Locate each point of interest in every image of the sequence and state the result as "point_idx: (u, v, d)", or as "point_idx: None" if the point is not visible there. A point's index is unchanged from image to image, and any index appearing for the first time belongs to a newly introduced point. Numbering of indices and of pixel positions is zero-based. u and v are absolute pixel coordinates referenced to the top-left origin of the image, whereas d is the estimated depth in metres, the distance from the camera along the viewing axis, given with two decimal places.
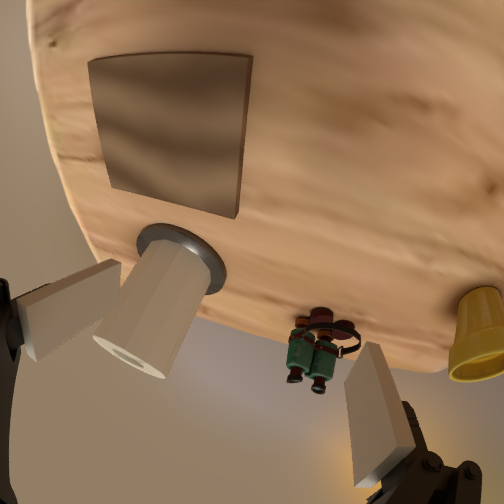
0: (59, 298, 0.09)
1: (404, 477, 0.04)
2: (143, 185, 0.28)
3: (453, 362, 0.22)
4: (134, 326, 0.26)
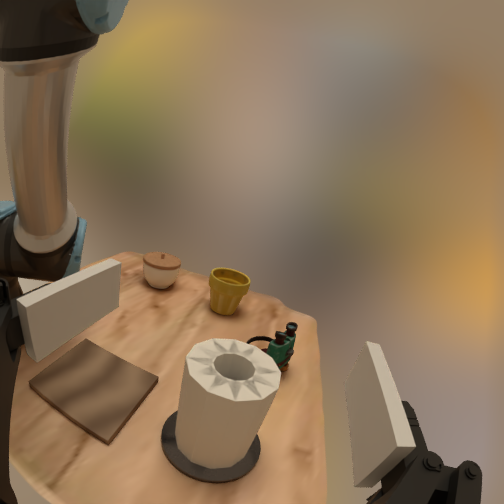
0: (59, 298, 0.09)
1: (404, 477, 0.04)
2: (117, 412, 0.30)
3: (229, 287, 0.65)
4: None
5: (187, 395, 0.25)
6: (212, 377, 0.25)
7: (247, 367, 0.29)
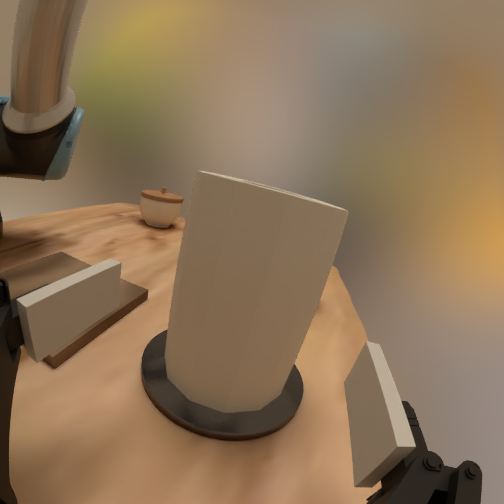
0: (59, 298, 0.09)
1: (404, 477, 0.04)
2: None
3: None
4: None
5: (193, 224, 0.15)
6: (241, 181, 0.15)
7: None
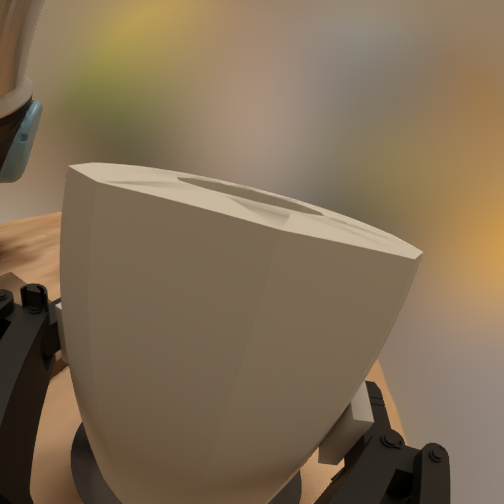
0: None
1: (362, 455, 0.05)
2: None
3: None
4: None
5: (61, 288, 0.06)
6: (156, 179, 0.05)
7: None
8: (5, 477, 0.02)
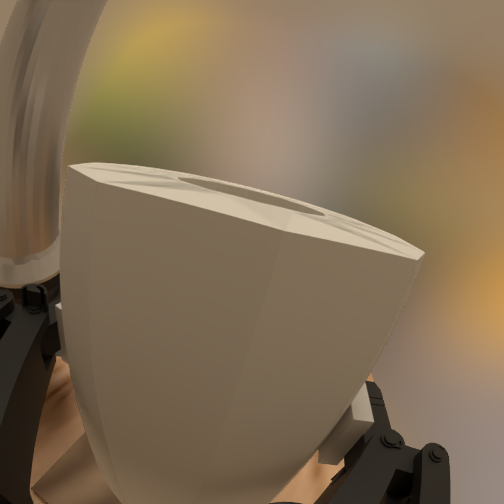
0: None
1: (362, 455, 0.05)
2: None
3: None
4: None
5: (61, 289, 0.06)
6: (156, 179, 0.05)
7: None
8: (5, 477, 0.02)
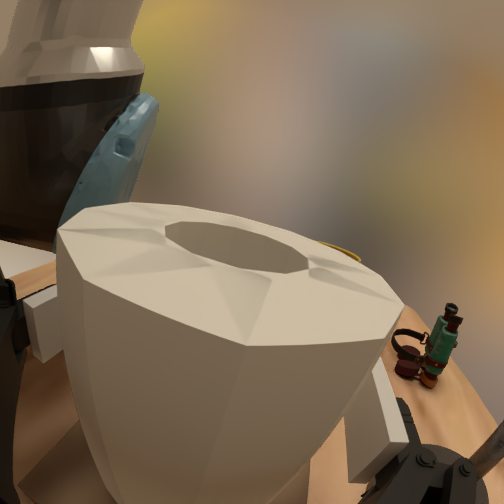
0: None
1: (397, 473, 0.05)
2: None
3: None
4: None
5: (62, 337, 0.06)
6: (141, 247, 0.06)
7: (276, 269, 0.10)
8: None
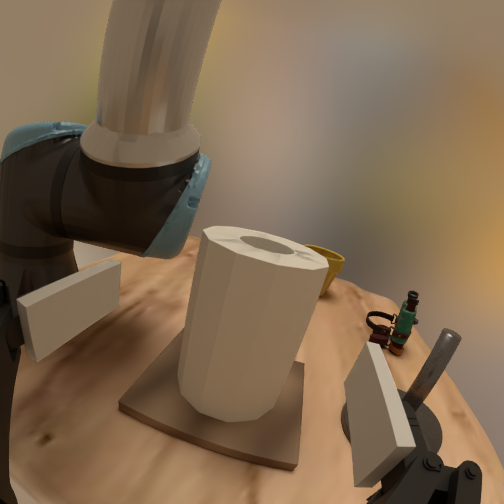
0: (59, 298, 0.09)
1: (404, 477, 0.04)
2: (286, 420, 0.22)
3: (330, 262, 0.57)
4: None
5: (202, 280, 0.19)
6: (240, 245, 0.19)
7: None
8: None
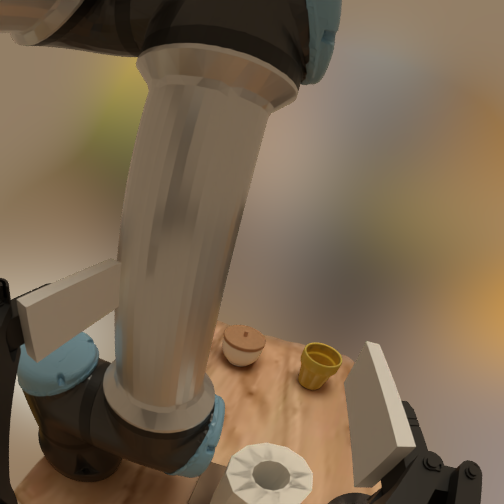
0: (59, 298, 0.09)
1: (404, 477, 0.04)
2: None
3: (328, 369, 0.58)
4: (227, 467, 0.25)
5: (229, 501, 0.20)
6: (253, 491, 0.20)
7: (281, 469, 0.25)
8: None
